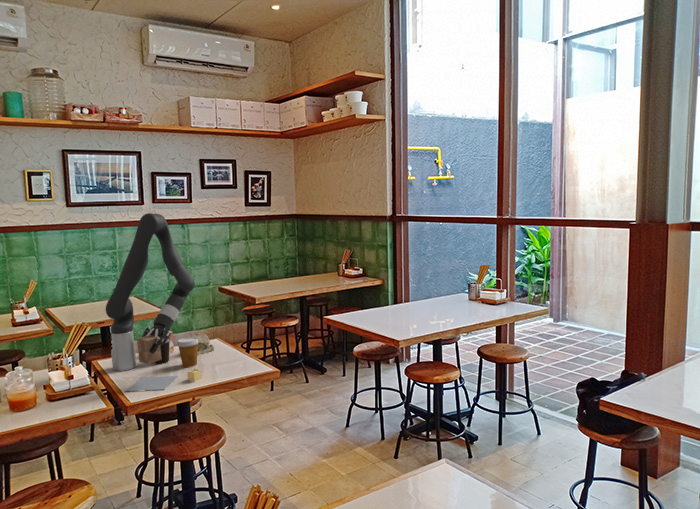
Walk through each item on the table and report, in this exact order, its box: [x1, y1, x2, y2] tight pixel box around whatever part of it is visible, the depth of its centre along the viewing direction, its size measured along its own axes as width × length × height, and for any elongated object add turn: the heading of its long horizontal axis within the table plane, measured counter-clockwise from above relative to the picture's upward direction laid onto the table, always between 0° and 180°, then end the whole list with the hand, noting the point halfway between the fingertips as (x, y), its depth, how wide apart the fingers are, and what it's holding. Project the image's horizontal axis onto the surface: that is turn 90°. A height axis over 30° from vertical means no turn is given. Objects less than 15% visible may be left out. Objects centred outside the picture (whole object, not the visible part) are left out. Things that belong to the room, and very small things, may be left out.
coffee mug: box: [154, 339, 170, 365], centre depth 251 cm, size 12×9×10 cm
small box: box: [168, 330, 175, 353], centre depth 265 cm, size 8×6×10 cm
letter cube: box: [187, 368, 203, 382], centre depth 222 cm, size 4×4×4 cm
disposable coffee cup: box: [176, 336, 199, 368], centre depth 243 cm, size 10×10×12 cm
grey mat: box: [124, 375, 179, 392], centre depth 220 cm, size 16×16×1 cm
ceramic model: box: [190, 332, 215, 356], centre depth 264 cm, size 14×11×10 cm
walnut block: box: [136, 335, 162, 365], centre depth 218 cm, size 6×6×10 cm
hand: (146, 351), depth 217 cm, fingers closed on walnut block, 6 cm apart
